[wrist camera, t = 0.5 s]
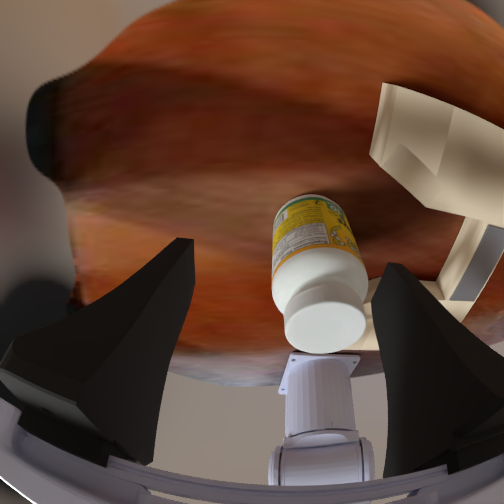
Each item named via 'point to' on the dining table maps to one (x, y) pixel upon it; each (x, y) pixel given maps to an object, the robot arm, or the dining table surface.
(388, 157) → the jig block
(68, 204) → the dining table surface
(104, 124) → the dining table surface
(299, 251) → the supplement bottle
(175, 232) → the dining table surface
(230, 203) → the dining table surface
